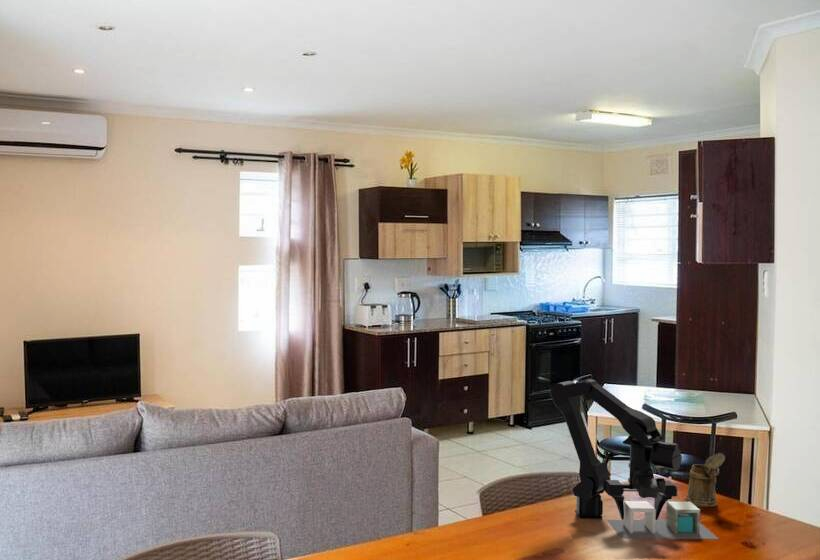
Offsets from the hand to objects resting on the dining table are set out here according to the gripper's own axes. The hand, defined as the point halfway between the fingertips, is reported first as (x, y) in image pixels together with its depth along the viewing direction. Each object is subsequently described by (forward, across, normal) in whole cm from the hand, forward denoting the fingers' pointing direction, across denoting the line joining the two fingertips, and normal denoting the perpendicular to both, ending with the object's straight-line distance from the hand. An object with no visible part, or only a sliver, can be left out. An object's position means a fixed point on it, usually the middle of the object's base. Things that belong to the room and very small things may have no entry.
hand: (639, 519), depth 207 cm
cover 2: (+3, +12, 0) cm, 12 cm away
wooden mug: (+3, +27, +21) cm, 34 cm away
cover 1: (+3, 0, 0) cm, 3 cm away
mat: (+3, +6, 0) cm, 7 cm away
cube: (+3, +12, 0) cm, 12 cm away
